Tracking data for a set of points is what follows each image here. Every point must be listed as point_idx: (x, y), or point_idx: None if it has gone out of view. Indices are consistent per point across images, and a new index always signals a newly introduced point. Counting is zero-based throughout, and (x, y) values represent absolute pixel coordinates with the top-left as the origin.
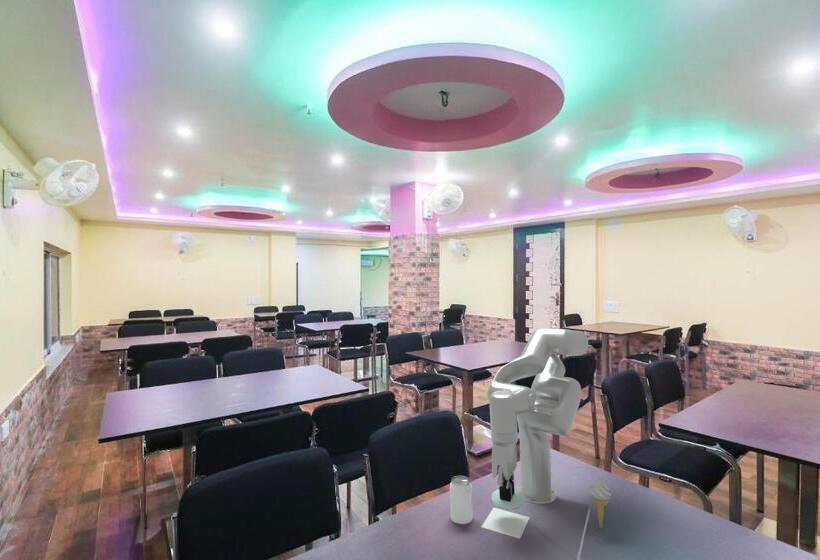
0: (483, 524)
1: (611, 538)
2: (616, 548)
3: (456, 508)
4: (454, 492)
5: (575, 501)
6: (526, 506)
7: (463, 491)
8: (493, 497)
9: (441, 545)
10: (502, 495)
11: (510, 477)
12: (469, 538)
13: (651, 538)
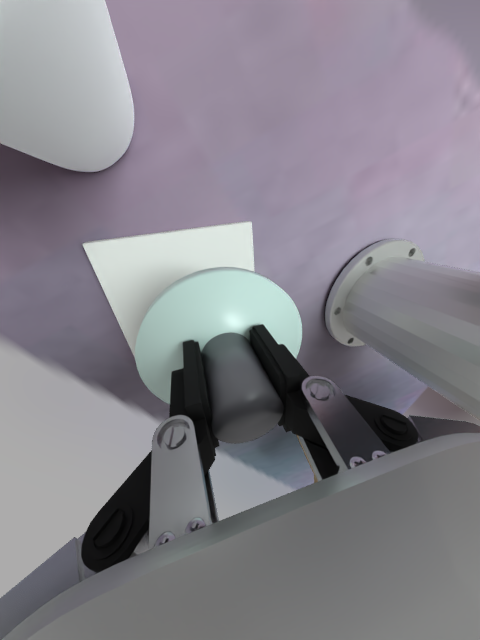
0: (108, 244)
1: (274, 442)
2: (252, 456)
3: None
4: None
5: (364, 365)
6: (315, 299)
7: None
8: (175, 302)
9: None
10: (173, 385)
11: (309, 438)
12: None
13: (298, 460)
